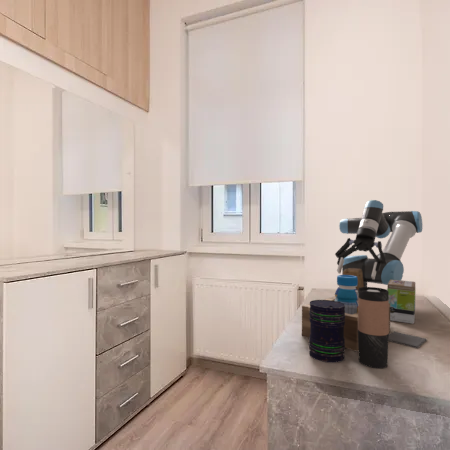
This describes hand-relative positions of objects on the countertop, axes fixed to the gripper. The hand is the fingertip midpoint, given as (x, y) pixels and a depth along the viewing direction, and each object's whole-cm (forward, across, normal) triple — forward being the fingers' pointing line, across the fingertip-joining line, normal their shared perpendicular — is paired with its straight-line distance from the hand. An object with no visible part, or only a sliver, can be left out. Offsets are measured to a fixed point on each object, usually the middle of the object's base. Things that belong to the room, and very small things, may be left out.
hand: (355, 275), depth 129 cm
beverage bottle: (+26, +5, -8) cm, 28 cm away
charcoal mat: (+22, +22, -4) cm, 31 cm away
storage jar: (+39, +8, -28) cm, 48 cm away
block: (+14, 0, +11) cm, 18 cm away
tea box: (+6, +15, +21) cm, 27 cm away
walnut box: (+26, +5, -8) cm, 28 cm away
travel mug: (+36, +19, -25) cm, 48 cm away
